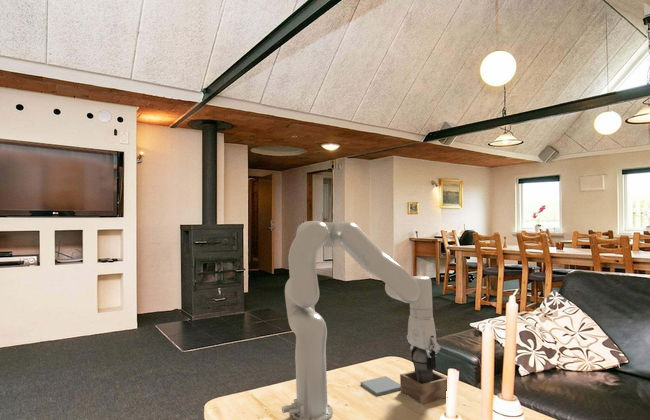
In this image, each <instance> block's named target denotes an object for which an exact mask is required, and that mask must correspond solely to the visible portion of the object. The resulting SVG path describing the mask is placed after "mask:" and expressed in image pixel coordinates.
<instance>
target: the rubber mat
mask: <svg viewBox="0 0 650 420" xmlns="http://www.w3.org/2000/svg"><path fill="white" fill-rule="evenodd" d="M360 386H362V387H363V388H365V389H366V390H368V391H369V392H370V393H372V394H374V395H375V396H377V397H378V396H382V395H387V394H390V393H394V392H399V391H401V384H400V382H399V383H398V382H397V381H395V380H393V379H391V378H390V377H388V376H386V375H385V376H381V377H376V378H372V379H368V380H364V381H360Z"/></svg>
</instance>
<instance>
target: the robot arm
mask: <svg viewBox="0 0 650 420" xmlns="http://www.w3.org/2000/svg"><path fill="white" fill-rule="evenodd" d="M295 235H296V236H295V237H294V239H293V241H292V243H291V244H290V247H289V250H288V269H289V271H288V273H289V278H288V280H287V281H286V283H285V286H284V299H285V308H286V316H287V321H288V325H289V327H290V329H291V331H292V332H293V333H294V334H295V348H294V349H295V351H294V352H295V353H294V356H295V357H294V359H295V361H294V363H295V386H296V390H295V391H296V398H295V399H294V398H293V402H292V403H291V404H287V405H282V406H281V412H282V414H286V413H288V415H291V416H292V418H293V419H294V420H329V419H330V418H331V417H332V416H333V412H334V411H333V407H332V406H331V405H330V404H329V403H328V385H327V384H328V381H327V375H328V374H327V355H326V354H327V353H326V351H327V347H326V346H327V337H328V329H327V324H326V321H325V320H324V318H323V316H322V315H320V313H318V312H317V311H316V310H315V309H316V307H315V306H316V305H317V303H318V302H319V298H320V286H319V280H318V279H319V278H318V272H317V254H318V253H319V251H320V249H321V248H322V247H327V248H329V247H332V248H333V247H337V248H338V247H339V248H342V249H344V251H345V252H347V254H348V255H349V256H351V258H352V259H353V260H354V261H355V262H357V264H358V265H359V266H360V267H361V268H362V269H364V271H366V272H368V273H369V274H371V275H372V276H374V277H375V278H378V279H380V280H381V281H382V282H383V283H384V284H385V285H384V290H385V293H386V294H387V295H388V297H390V298H392V299H395V300H397V301H400V302H403V303H406V304H409V316H408V323H407V335H406V339H407V342H408V345H409V349H410V351H411V352H410V353H411V362H412V363H413V360H412V359H413V354H414V352H415V351H416V350H417V349H418V348H420V349H423V350H426V352H427V355H428V357H427V369H428V370H431V369H433V370H435V369H436V368H437V364H436V361H437V360H436V358H437V356H438V354H439V352H440V350H441V346H440V344H439V343H438V342H437V333H436V331H437V330H436V325H435V321H434V320H435V319H434V315H433V313H434V312H433V311H434V310H433V289H432V287H433V286H432V285H433V284H432V279H431V277H429V276H426V275H415V276H412V275H411V274H410V273H409V272H408V271H407V270H406V269H405V268H404V267H403V266H401V265H400V264H399V263H398V262H396V261H395V260H394V259H393V258H392V257H390V255H388V254H386V253H385V252H384V251H383V250H382V249H381V248H380V247H379V246H378V245H377V244H376V243H375V242H374V241H373V240H372V239H371V238H370V237H369V236H368V235H367V234H366V232H364V230H362V229H361V227H360V226H359V225H357V224H355V222H351V221H340V222H338V221H337V222H332V221H331V222H330V221H329V222H328V221H327V222H325V221H323V222H322V221H320V220H310V221H309V220H307V221H304V222H302V223H300V225H298V226H297V229H296V232H295ZM429 350H430V351H431V353H430V351H429Z"/></svg>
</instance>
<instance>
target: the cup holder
mask: <svg viewBox="0 0 650 420" xmlns="http://www.w3.org/2000/svg"><path fill="white" fill-rule="evenodd" d="M447 378H448V377H446V376H444V375H442V374H440V373H437V372H436V371H433V379H432V382H428V383H424V384H421V383H419V382H417V381H416V376H415V370H412V371H408V372H405V373H400V374H399V379H400V381H399V384H400V385H401V390H400V392H401V393H402V394H403V395H405V396H407V397H409V398H410V399H412V400H413V401H414V402H418V403H419V404H421V405H425V404H429V403H433V402H436V401H440V400H443V399H446V391H447Z"/></svg>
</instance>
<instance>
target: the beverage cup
mask: <svg viewBox="0 0 650 420" xmlns="http://www.w3.org/2000/svg"><path fill="white" fill-rule="evenodd" d="M429 351H430V353H431V352H432V351H431V350H429ZM427 357H428V355H427V352H426V350H423V349H420V348H418V349H417V350H416V351H415V352H414V354H413V359H412V358H411V361H412V360H413V362H412V364H413V368H414V371H415V376H416V381H417V382H419V383H421V384H424V383H428V382H432V379H433V372H434V369H431V370H428V369H427Z"/></svg>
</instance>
